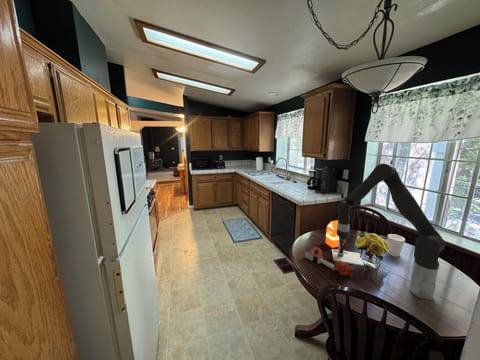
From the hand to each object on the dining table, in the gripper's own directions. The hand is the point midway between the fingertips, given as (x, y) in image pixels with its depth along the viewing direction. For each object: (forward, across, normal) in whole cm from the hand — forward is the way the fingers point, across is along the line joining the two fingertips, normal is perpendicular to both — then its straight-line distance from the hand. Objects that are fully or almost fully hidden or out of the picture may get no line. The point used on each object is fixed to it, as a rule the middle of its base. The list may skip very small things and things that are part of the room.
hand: (340, 251), depth 138 cm
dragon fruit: (+4, -19, 0) cm, 19 cm away
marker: (+3, 0, 0) cm, 3 cm away
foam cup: (+4, +15, -36) cm, 39 cm away
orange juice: (+4, +16, +3) cm, 17 cm away
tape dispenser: (+4, -10, +15) cm, 18 cm away
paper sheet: (+4, 0, -4) cm, 6 cm away
